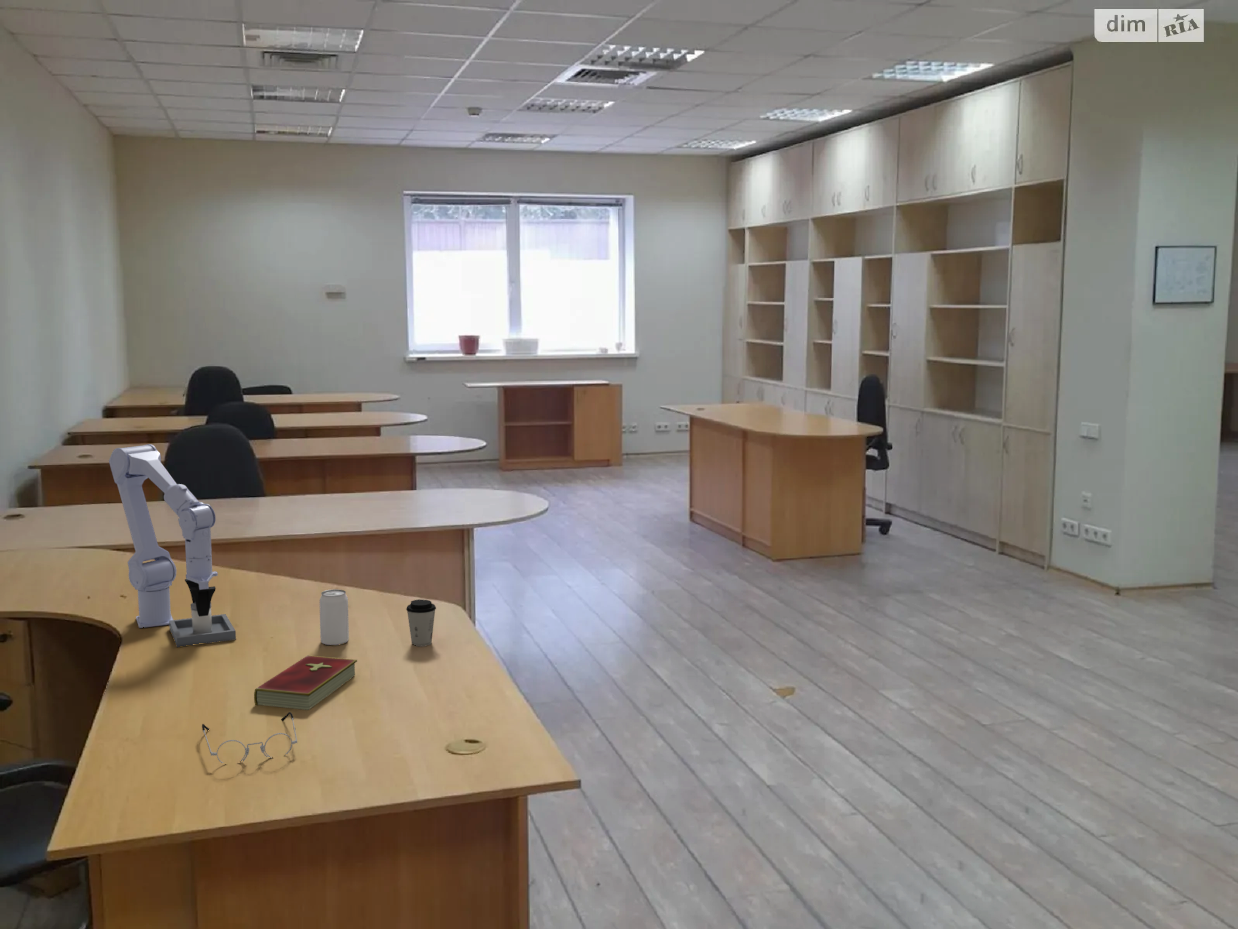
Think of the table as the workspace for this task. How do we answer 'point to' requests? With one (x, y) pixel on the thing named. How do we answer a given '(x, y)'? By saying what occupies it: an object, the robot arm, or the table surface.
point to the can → (334, 617)
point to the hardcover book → (305, 682)
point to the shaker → (200, 621)
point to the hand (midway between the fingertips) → (201, 611)
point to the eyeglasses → (253, 743)
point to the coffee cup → (421, 621)
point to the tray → (220, 632)
